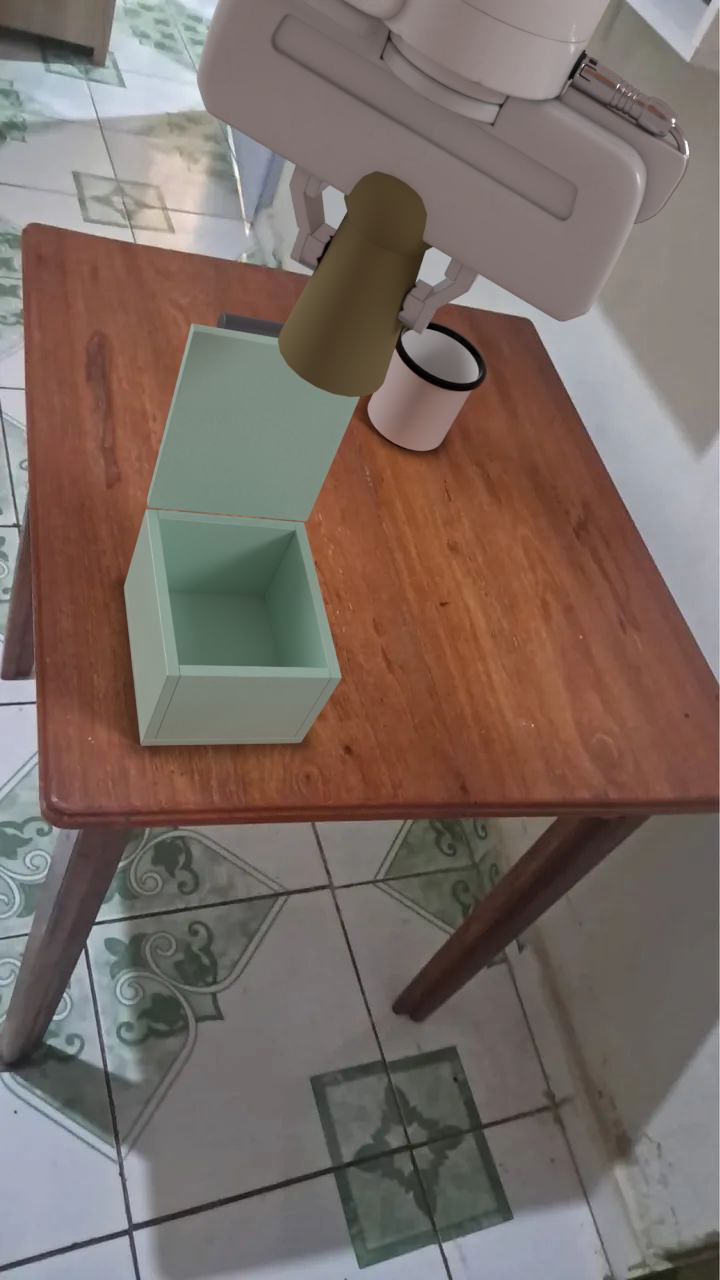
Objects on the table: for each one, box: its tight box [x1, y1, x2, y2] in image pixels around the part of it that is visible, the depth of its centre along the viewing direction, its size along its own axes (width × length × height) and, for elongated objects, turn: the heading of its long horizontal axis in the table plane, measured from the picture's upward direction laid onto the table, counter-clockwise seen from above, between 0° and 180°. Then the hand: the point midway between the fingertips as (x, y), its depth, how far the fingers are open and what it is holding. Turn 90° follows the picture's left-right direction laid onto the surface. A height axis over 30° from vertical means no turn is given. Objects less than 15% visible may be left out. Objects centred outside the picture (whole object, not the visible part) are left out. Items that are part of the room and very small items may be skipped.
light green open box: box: [123, 508, 343, 747], centre depth 67 cm, size 14×12×9 cm
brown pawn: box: [278, 171, 434, 398], centre depth 46 cm, size 6×6×11 cm
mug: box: [367, 320, 488, 452], centre depth 94 cm, size 12×10×9 cm
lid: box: [146, 311, 361, 522], centre depth 64 cm, size 14×12×5 cm
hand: (359, 292), depth 47 cm, fingers closed on brown pawn, 4 cm apart
